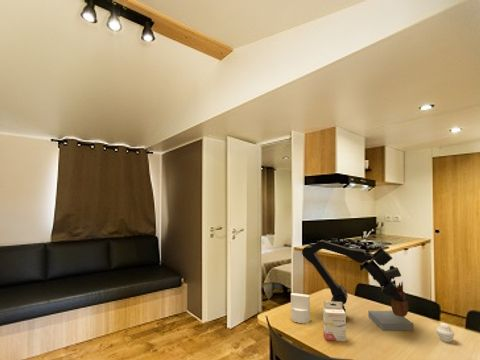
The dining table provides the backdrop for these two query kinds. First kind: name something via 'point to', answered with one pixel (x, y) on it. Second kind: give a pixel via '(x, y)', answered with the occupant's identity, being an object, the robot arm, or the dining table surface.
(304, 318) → the base with upright slab
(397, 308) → the wooden figurine
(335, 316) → the ink cartridge box
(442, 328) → the muffin
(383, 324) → the plinth
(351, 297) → the dining table surface
